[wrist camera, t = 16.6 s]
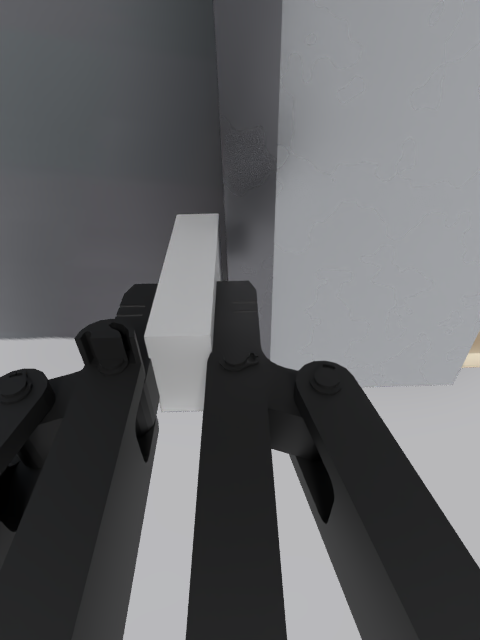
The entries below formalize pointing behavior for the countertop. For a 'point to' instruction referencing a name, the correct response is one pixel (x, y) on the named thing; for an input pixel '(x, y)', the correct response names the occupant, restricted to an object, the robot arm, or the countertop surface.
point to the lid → (355, 180)
